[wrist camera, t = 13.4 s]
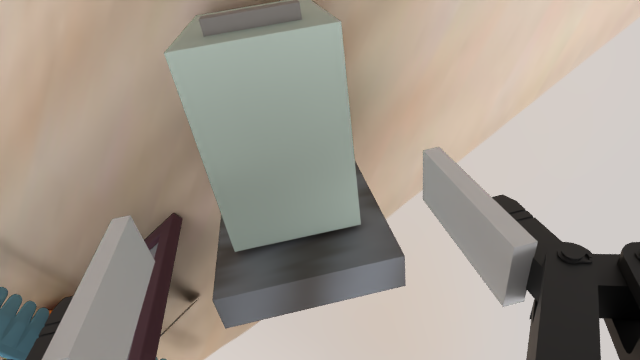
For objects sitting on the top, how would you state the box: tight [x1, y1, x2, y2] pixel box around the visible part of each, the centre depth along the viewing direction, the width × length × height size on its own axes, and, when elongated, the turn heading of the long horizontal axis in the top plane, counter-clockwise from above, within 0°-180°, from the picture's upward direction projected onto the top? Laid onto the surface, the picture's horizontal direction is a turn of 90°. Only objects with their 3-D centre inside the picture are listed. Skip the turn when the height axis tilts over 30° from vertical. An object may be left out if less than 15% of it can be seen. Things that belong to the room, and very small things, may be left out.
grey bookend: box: [213, 162, 405, 328], centre depth 26 cm, size 11×12×18 cm
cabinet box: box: [164, 0, 361, 252], centre depth 24 cm, size 8×13×12 cm, turn 8°
